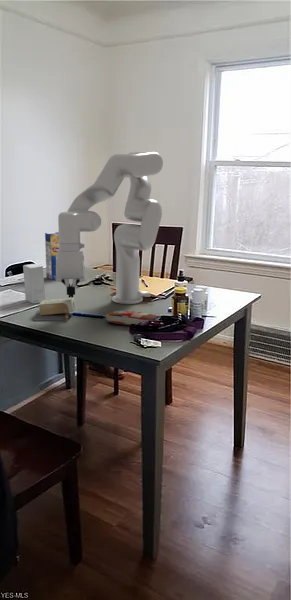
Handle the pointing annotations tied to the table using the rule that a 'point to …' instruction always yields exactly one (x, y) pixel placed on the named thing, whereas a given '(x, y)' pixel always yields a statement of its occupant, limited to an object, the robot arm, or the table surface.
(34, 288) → the skincare box
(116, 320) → the pencil case
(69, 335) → the table surface
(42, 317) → the mat
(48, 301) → the skincare box
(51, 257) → the beverage box
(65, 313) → the stop strip
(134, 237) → the robot arm
